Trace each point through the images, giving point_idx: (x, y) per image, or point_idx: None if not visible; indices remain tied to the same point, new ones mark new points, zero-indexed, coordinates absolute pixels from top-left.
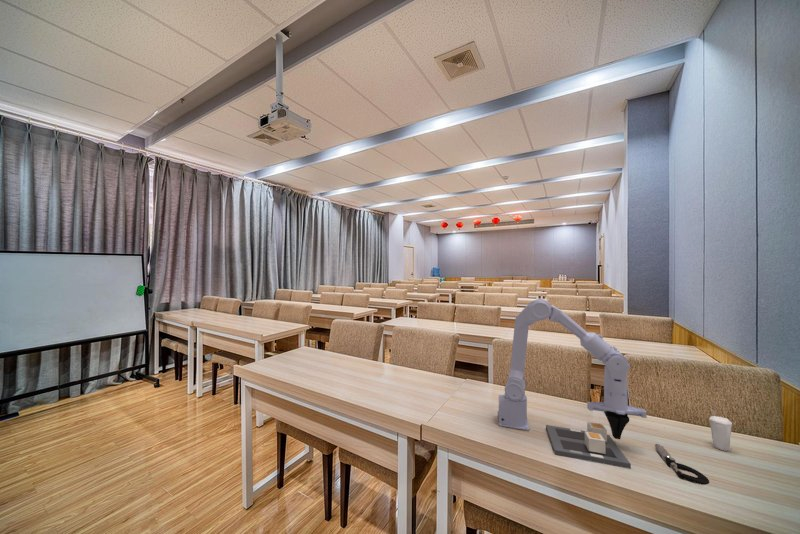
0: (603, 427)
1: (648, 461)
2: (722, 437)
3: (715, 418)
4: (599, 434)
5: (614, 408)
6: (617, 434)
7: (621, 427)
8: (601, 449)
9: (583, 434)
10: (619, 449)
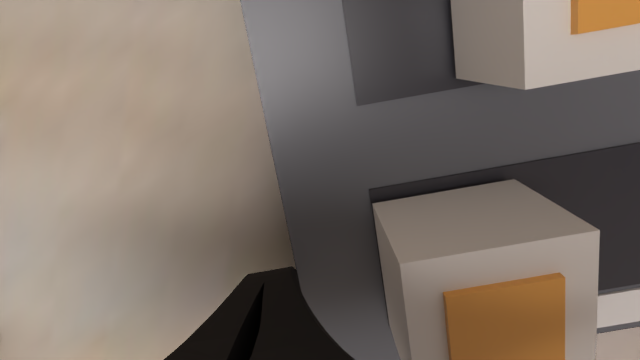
0: (426, 325)
1: (58, 119)
2: None
3: None
4: (546, 54)
5: None
6: (267, 288)
7: (199, 354)
8: None
9: None
10: (274, 135)
